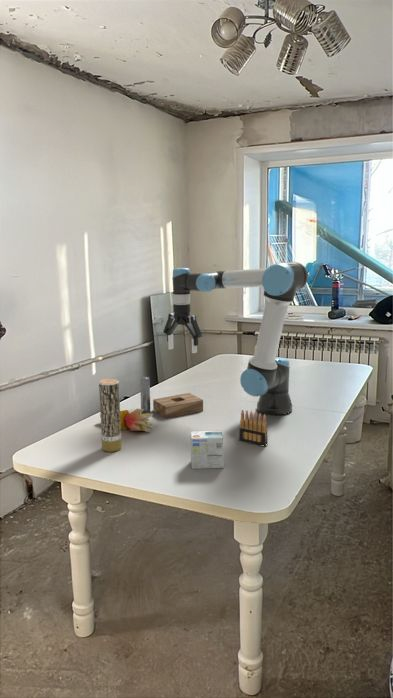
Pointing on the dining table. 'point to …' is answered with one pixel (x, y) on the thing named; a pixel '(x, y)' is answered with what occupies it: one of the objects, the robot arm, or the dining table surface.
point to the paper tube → (110, 414)
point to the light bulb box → (207, 449)
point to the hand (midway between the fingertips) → (182, 350)
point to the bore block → (177, 405)
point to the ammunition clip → (253, 429)
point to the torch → (135, 420)
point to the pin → (145, 394)
